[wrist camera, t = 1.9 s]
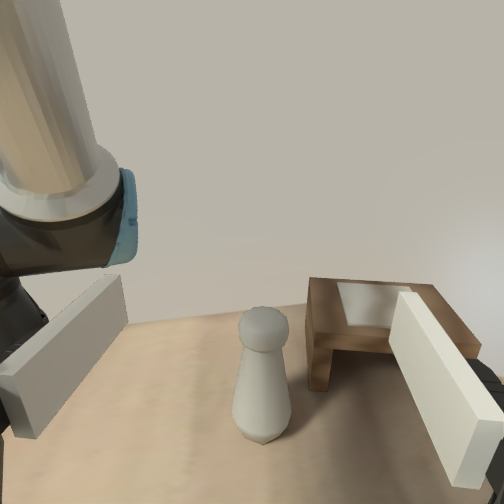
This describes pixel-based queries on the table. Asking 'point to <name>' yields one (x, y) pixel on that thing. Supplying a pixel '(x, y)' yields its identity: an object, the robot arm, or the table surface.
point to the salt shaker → (262, 376)
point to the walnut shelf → (367, 321)
